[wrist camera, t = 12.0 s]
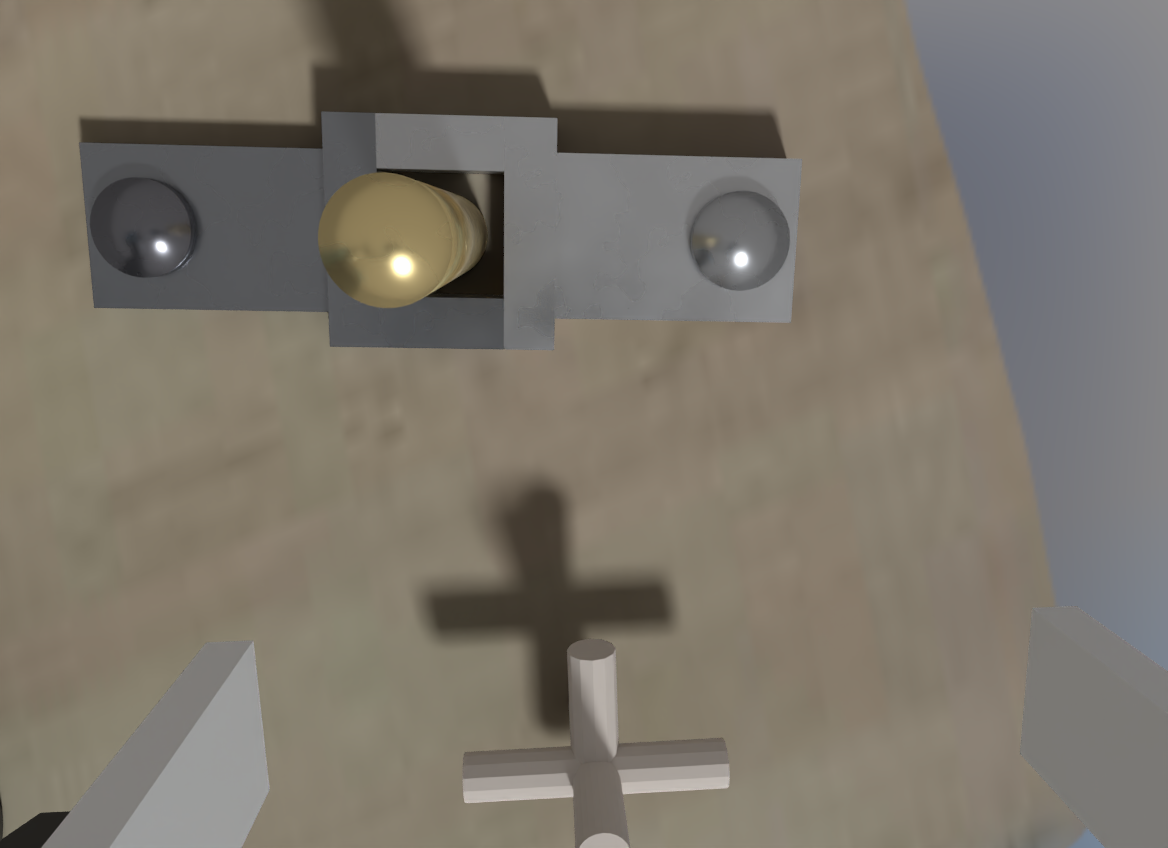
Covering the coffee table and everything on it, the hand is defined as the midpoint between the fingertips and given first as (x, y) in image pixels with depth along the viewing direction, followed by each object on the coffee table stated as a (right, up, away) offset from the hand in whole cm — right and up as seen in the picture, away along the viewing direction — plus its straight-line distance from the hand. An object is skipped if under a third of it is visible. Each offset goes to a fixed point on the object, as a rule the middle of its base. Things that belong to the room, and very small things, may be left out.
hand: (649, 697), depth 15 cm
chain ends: (-6, +12, +20) cm, 24 cm away
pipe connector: (-1, -8, +25) cm, 26 cm away
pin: (-6, +12, +20) cm, 24 cm away
